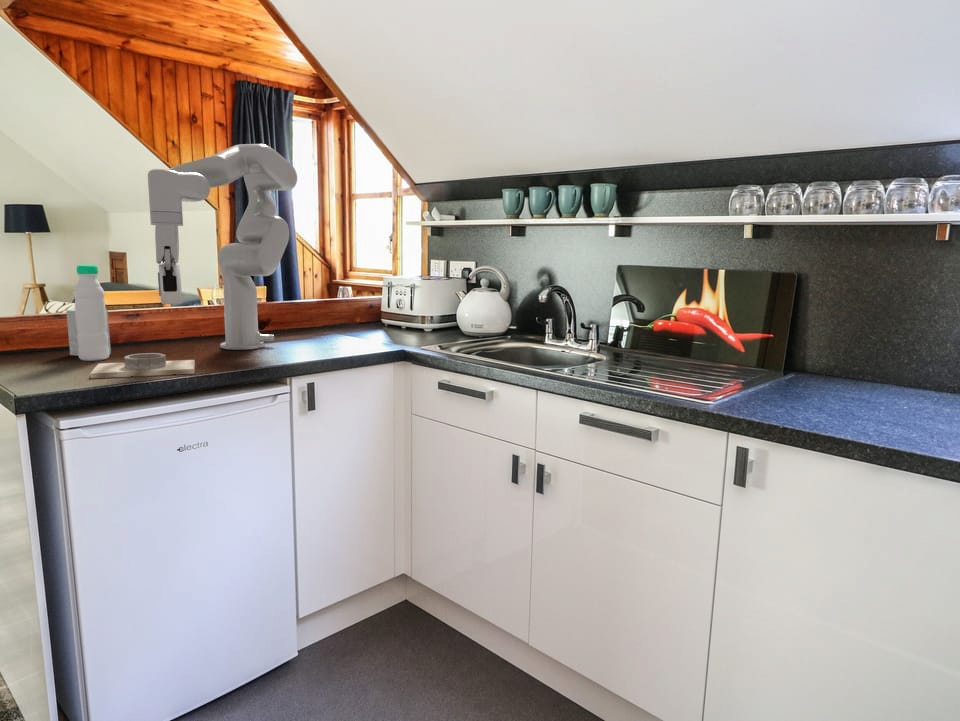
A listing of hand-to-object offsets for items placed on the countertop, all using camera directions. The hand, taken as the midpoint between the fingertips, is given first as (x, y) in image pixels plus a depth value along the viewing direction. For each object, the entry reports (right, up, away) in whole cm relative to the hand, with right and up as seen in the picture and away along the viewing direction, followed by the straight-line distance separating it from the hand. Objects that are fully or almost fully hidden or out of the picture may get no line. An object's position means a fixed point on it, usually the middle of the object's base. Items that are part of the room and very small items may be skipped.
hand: (170, 289), depth 168 cm
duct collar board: (-2, -21, -9) cm, 23 cm away
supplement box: (-28, -17, +11) cm, 34 cm away
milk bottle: (-23, -18, +5) cm, 30 cm away
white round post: (0, -3, +1) cm, 4 cm away
